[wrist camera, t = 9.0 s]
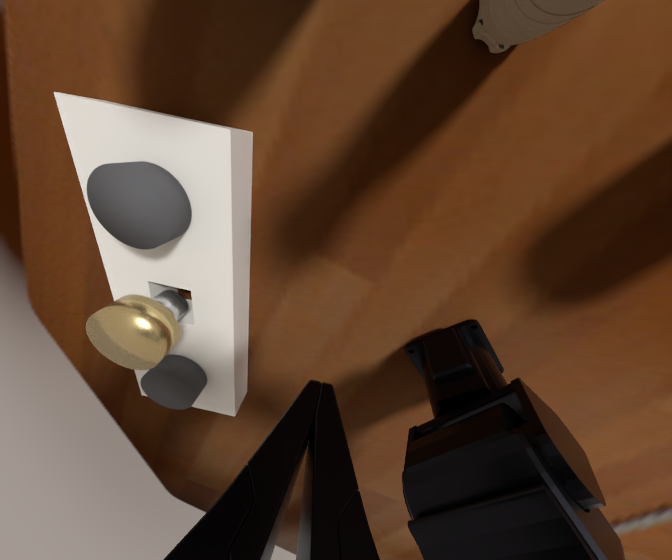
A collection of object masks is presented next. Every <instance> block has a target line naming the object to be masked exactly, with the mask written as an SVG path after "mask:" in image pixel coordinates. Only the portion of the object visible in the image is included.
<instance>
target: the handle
mask: <svg viewBox="0 0 672 560" xmlns="http://www.w3.org/2000/svg"><path fill="white" fill-rule="evenodd" d="M602 1H604V0H479V13H478V17H477V20H476V23H475V25H474V27H473V29H472V31H473V35H474V38H475V39H480V40H482V41H484V42H485V43H486V44H487V45H488V47H489V51H490V52H491V53H500V52H503V51H505V50H507V49H508V48H509V47H510V46H511V45H516V44H521V43H524V42H528V41H530V40H533V39H535V38H538V37H540V36H542V35H545V34H547V33H549V32H551V31H553V30H554V29H556V28H558V27H560V26H562V25H564V24H566V23H568V22H569V21H571V20H573V19H575V18H576V17H578V16H580V15H581V14H583V13H585V12H586V11H588V10H589V9H591V8H593V7H595V6H596V5H598V4H599V3H601V2H602Z"/></svg>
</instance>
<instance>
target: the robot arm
mask: <svg viewBox="0 0 672 560" xmlns="http://www.w3.org/2000/svg"><path fill="white" fill-rule="evenodd" d="M472 325H475V326H473V327H471V326H472ZM410 349H413V350H410ZM405 351H406V354H407V355H408V356H409V358H410V359H411V361H412V362H413V364H414V365H415V366H416V368H417V369H418V371H419V372H420V373H421V375H422V376H423V378H424V379H425V382H426V386H427V391H428V395H429V399H430V403H431V407H432V412H433V416H434V419H433V420H430V421H428V422H426V423H424V424H422V425H420V426H418V427H417V426H414V427H412V428H410V429H409V435H408V442H407V450H406V457H405V464H404V471H403V473H402V482H403V494H404V498H405V503H406V506H407V509H408V512H409V514H410V517H411V519H412V520H410V521H408V528H409V530H410V532H411V534H412V536H413V537H414V539H415V541H416V543H417V545H418V547H419V549H420V551H421V554H422V556H423V558H424V560H625V555H624V551H623V547H622V544H621V541H620V539H619V538H618V536H617V534H616V533H615V531H614V530H613V528H612V527H611V525H610V524H609V523H608V521H607V520H606V518H605V517H604V515H603V514H602V512H601V511H600V510H599V507H603V506H606V503H605V500H604V497H603V495H602V492H601V490H600V488H599V485H598V483H597V480H596V478H595V476H594V473H593V471H592V468H591V466H590V463H589V461H588V459H587V456H586V454H585V452H584V450H583V449H582V447H581V446H580V445H579V443H578V442H577V441H576V439H575V438H574V437H573V435H572V434H571V433H570V431H569V430H568V429H567V427H566V426H565V425H564V423H563V422H562V421H561V419H560V418H559V417H558V416H557V414H556V413H555V412H554V411H553V410H552V409H551V408H550V407H548V406H547V405H546V404H545V403H544V402H543V401H542V400H541V399H540V398H539V397H538V396H537V395H536V394H535V393H534V392H533V391H532V390H531V389H530V388H529V387H528V386H527V385H526V384H525V383H524V382H523V381H522V380H521V379H520V378H517V379H515V380H513V381H511V383H510V384H507V382H506V381H505V379H504V377H503V376H502V374H501V373H503V371H504V369H503V367H502V365H501V363H500V361H499V359H498V358H497V356H496V354H495V352H494V350H493V348H492V346H491V344H490V343H489V341H488V339H487V337H486V335H485V333H484V331H483V329H482V328H481V326H480V324H479V322H478V321H477V320H473V319H472V320H469V321H466V322H464V323H461V324H459V325H456V326H454V327H451V328H449V329H446V330H443V331H441V332H438V333H436V334H433V335H431V336H428V337H426V338H423V339H421V340H418V341H416V342H413V343H411V344H408V345H407V346H406V347H405ZM309 436H310V437H309ZM308 441H309V442H308ZM307 445H308V448H307ZM306 448H307V456H306V466H305V476H304V486H303V496H302V506H301V516H300V526H299V536H298V546H297V556H296V560H380V559H379V556H378V553H377V550H376V547H375V544H374V541H373V538H372V535H371V532H370V529H369V525H368V521H367V518H366V514H365V511H364V507H363V503H362V499H361V495H360V492H359V491H358V489H359V488H358V484H357V480H356V476H355V472H354V468H353V464H352V460H351V456H350V452H349V448H348V444H347V440H346V436H345V432H344V428H343V424H342V420H341V416H340V412H339V408H338V404H337V400H336V396H335V392H334V388H333V385H332V384H329V383H324V382H323V383H321V382H319V381H315V380H310V381H309V382H308V383H307V384H306V386H305V387H304V388H303V390H302V391H301V392H300V394H299V395H298V396H297V398H296V399H295V400H294V402H293V403H292V404H291V406H290V407H289V408H288V410H287V411H286V412H285V414H284V415H283V416H282V418H281V419H280V420H279V422H278V423H277V424H276V426H275V427H274V428H273V430H272V431H271V432H270V434H269V435H268V436H267V438H266V439H265V440H264V441H263V443H262V444H261V445H260V447H259V448H258V449H257V451H256V452H255V453H254V455H253V456H252V457H251V459H250V460H249V461H248V463H247V465H245V466H244V468H243V469H242V470H241V472H240V473H239V474H238V476H237V477H236V478H235V480H234V481H233V482H232V483H231V485H230V486H229V487H228V488H227V490H226V491H225V492H224V493H223V495H222V496H221V497H220V498H219V499H218V500H217V501H216V503H215V504H214V505H213V506H212V507H211V508H210V509H209V511H208V512H207V513H206V514H205V515H204V516H203V517H202V518H201V519H200V521H199V522H198V523H197V524H196V525H195V526H194V527H193V528H192V529H191V530H190V531H189V532H188V534H187V535H186V536H185V537H184V538H183V539H182V540H181V541H180V543H178V544H177V546H176V547H175V548H174V549H173V550H172V551H171V552H170V553H169V554H168V555H167V557H166V558H165V559H164V560H270V559H271V556H272V553H273V550H274V547H275V544H276V541H277V538H278V535H279V531H280V528H281V525H282V522H283V519H284V516H285V513H286V510H287V507H288V504H289V501H290V498H291V495H292V492H293V489H294V486H295V483H296V479H297V476H298V473H299V470H300V467H301V464H302V461H303V458H304V455H305V452H306Z"/></svg>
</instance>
